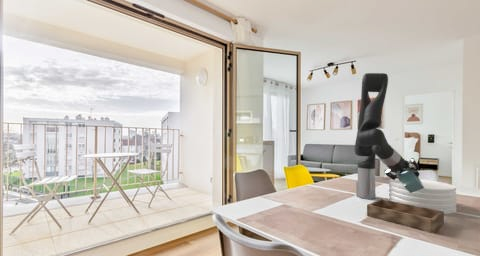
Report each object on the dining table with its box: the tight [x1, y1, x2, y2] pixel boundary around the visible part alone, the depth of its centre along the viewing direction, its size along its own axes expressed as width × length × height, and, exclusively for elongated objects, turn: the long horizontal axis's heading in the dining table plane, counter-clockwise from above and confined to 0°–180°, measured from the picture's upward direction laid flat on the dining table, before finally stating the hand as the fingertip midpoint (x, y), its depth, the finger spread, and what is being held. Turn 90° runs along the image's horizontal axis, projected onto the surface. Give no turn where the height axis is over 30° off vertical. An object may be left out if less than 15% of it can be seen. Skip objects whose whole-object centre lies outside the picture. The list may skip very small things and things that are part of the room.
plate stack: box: [388, 178, 457, 215], centre depth 125 cm, size 28×28×12 cm
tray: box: [366, 198, 445, 234], centre depth 103 cm, size 24×16×5 cm, turn 39°
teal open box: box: [400, 164, 424, 193], centre depth 112 cm, size 6×6×12 cm
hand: (410, 177), depth 113 cm, fingers closed on teal open box, 6 cm apart
